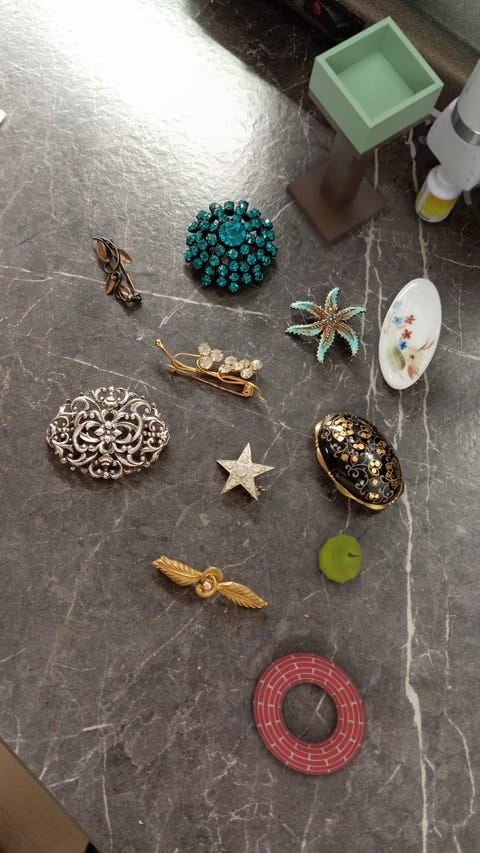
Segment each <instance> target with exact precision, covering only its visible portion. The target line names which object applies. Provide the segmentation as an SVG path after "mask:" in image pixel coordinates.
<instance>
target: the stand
mask: <svg viewBox="0 0 480 853" xmlns="http://www.w3.org/2000/svg"><path fill="white" fill-rule="evenodd" d="M307 95H308V97H309V98H310V99H311V101H312V102H313V103H314V104H315V106H316V107H317V108H318V110H319V111H320V112H321V114H322V115H323V116H324V118H325V119H326V120H327V122H328V123H329V124H330V125H331V127H332V128H333V129H334V131H335V132H336V134H335V138H334V142H333V144H332V147H331V152H330V155H329V157H328V160H327V161H325V162H324V163H322V164H320V165H318V166H317V167H315V168H313V169H312V170H309V171H308V172H307V173H304V174H303V175H301V176H300V177H298V178H296V179H295V180H293V181H291V182H289V183H288V184H286V189H285V190H286V192H287V194H289V196H290V198H291V199H292V200H293V202H295V204H296V206H297V207H298V208H299V210H300V211H301V212H302V213H303V215H304V216H305V218H306V219H307V220H308V222H309V223H310V224H311V226H312V227H313V229H315V231H316V233H317V234H318V236H320V238H321V239H322V241H323V242H324V243H325V245H326V246H329V245H331V244H332V243H334V242H336V241H338V240H339V239H340V238H342V237H343V236H346V235H347V234H348V233H350V232H352V231H353V230H355V229H356V228H358V227H360V226H361V225H363V224H365V223H366V222H368V221H370V220H371V219H373V218H375V217H376V216H378V215H379V214H381V213H383V212H384V211H385V210H387V209H386V208H387V206H388V204H387V203H386V202H385V201H384V199H383V198H382V197H381V196H380V194H379V193H378V191H377V190H376V189H375V187H374V186H373V185H372V184H371V182H370V181H369V180H368V178H367V177H366V175H365V174H366V172H367V169H368V167H369V164H370V162H371V159H372V156H373V154H374V151H376V150H378V149H380V148H381V147H383V146H384V145H386V144H389V143H390V142H392V141H394V140H395V139H396V138H398V137H400V136H402V135H403V134H405V133H406V132H408V131H409V130H411V129H413V128H415V127H416V126H418V124H420V123H422V122H423V121H425V120H427V118H428V116H429V114H428V115H426V116H424V117H422V118H421V119H419V120H417V121H416V122H414V123H412V124H411V125H409V126H407V127H406V128H404V129H402V130H401V131H399V132H397V133H396V134H394V135H392V136H390V137H389V138H387V139H385V140H384V141H382V142H380V143H379V144H377V145H375V146H374V147H372V148H370V149H369V150H367V151H365V152H363V153H362V154H360V153H359V152H358V150H357V149H356V148H355V146H354V145H353V144H352V143H351V141H350V140H349V139H348V137H347V136H346V135H345V133H344V132H343V131H342V130H341V128H340V127H339V126H338V124H337V123H336V122H335V120H334V119H333V118H332V116H331V115H330V114H329V113H328V111H327V110H326V109H325V107H324V106H323V105H322V103H321V102H320V101H319V100H318V98H317V97H316V96H315V94H314V93H313V92H312V90H311V89H310V88H308V93H307Z"/></svg>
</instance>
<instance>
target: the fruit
mask: <svg viewBox="0 0 480 853" xmlns="http://www.w3.org/2000/svg"><path fill="white" fill-rule="evenodd" d="M363 560H364V559H363V550H362V548H361V546H360V544H359V543H358V541H357V539H356V538H355V537H354V536H351V535H347V534H342V533H341V534H338V535H336V536H335V535H334V536H333V537H331V538H328V539H327V540H326V541H325V543H324V544H323V546H322V547H321V548H320V550H319V551H318V567H319V569H320V570H321V571H322V572H323V574H324V575H325V577H327V579H329V580H331V581H334V582H337V583H340V584H344V583H346V582H349V581H350V580H353V579H355V578H356V577H357V576H358V574H359V572H360V571H361V569H362V568H363V566H364V561H363Z"/></svg>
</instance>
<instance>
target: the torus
mask: <svg viewBox="0 0 480 853" xmlns="http://www.w3.org/2000/svg"><path fill="white" fill-rule="evenodd" d="M303 683H309V684H314V685H316V686H318V687H319V688H322V689H323V690H324V691H325V692H326V693H327V694H328V695H329V697H330V698H331V699H332V701H333V703H334V706H335V709H336V724H335V728H334V729H333V732H332V733H331V734H330V736H328V737H327V738H326V739H324V740H323V741H320V742H315V743H314V742H313V743H312V742H305V741H303V740H301V739H300V738H298V737H296V736H295V735H293V734H292V732H291V731H290V729H288V726H287V725H286V723H285V721H284V718H283V713H282V712H283V711H282V706H283V701H284V698H285V696H286V694H287V693H288V691H289V690H290V689H292V688H293V687H294V686H296V685H298V684H303ZM252 710H253V719H254V722H255V723H254V724H255V726H256V729H257V731H258V734H259V737H260V738H261V740H262V742H263V743H264V745H265V747H266V748H267V749H268V750H269V752H270V753H271V754H272V755H273V756H274V757H275V759H277V760H278V761H279V762H281V763H282V764H283V765H285V766H286V767H288V768H290V769H292V770H294V771H296V772H298V773H303V774H306V775H313V776H316V775H319V776H320V775H327V774H332V773H334V772H337V771H339V770H340V769H342V768H344V767H346V766H347V765H348V764H349V763H350V762H351V761H352V760H353V759H355V757H356V755H357V754H358V752H359V750H360V749H361V747H362V744H363V741H364V738H365V734H366V725H367V724H366V722H367V720H366V718H367V717H366V710H365V706H364V702H363V699H362V696H361V694H360V691H359V689H358V688H357V685H356V684H355V683H354V681H353V680H352V678H351V677H350V676H349V675H348V674H347V673H346V671H345V670H343V668H341V667H340V666H339V665H338V664H337V663H335V662H334V661H332V660H330V659H328V658H326V657H324V656H321V655H319V654H315V653H310V652H295V653H288V654H286V655H283V656H281V657H279V658H277V659H276V660H274V661H273V662H272V663H270V664H269V665H268V666H267V667H266V668H265V669H264V671H262V674H261V675H260V677H259V678H258V681H257V683H256V686H255V689H254V693H253V703H252Z"/></svg>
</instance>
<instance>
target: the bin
mask: <svg viewBox="0 0 480 853" xmlns="http://www.w3.org/2000/svg"><path fill="white" fill-rule="evenodd" d="M444 86H445V84H444V82H443V81H442V80H441V78H440V77H439V76H438V75H437V74H436V72H435V71H434V70H433V69H432V67H431V66H430V65H429V63H428V62H427V61H426V60H425V59H424V57H423V56H422V55H421V53H420V52H419V51H418V50H417V48H416V47H415V46H414V45H413V43H412V42H411V41H410V39H409V38H408V37H407V36H406V35H405V33H404V32H403V31H402V30H401V29H400V27H399V26H398V25H397V23H396V22H395V21H394V19H393V18H392V17H391V16H387V17H385V18H383V19H381V20H380V21H378V22H376V23H375V24H373V25H371V26H369V27H367V28H365V29H364V30H362V31H360V32H359V33H356V34H355V35H353V36H351V37H350V38H347V39H346V40H344V41H342V42H341V43H338V44H337V45H335V46H333V47H332V48H330V49H327V50H326V51H324V52H323V53H321V54H319V55H317V56H315V57H314V62H313V66H312V70H311V76H310V79H309V84H308V89H311V90H312V92H313V93H314V94H315V96H316V97H317V98H318V100H319V101H320V102H321V103H322V105H323V106H324V107H325V109H326V110H327V111H328V113H329V114H330V115H331V116H332V118H333V119H334V120H335V122H336V123H337V124H338V126H339V127H340V128H341V130H342V131H343V132H344V133H345V135H346V136H347V137H348V139H349V140H350V141H351V143H352V144H353V145H354V146H355V148H356V149H357V150H358V152H359V153H360V154H362V153H363V152H365V151H367V150H369V149H370V148H372V147H374V146H375V145H377V144H379V143H380V142H382V141H384V140H385V139H387V138H389V137H390V136H392V135H394V134H396V133H397V132H399V131H401V130H402V129H404V128H406V127H407V126H409V125H411V124H412V123H414V122H416V121H417V120H419V119H421V118H422V117H424V116H426V115H428V114H429V113H431V112H432V110H433V108H435V106H436V103H437V101H438V100H439V97H440V94H441V92H442V90H443V88H444Z"/></svg>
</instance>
